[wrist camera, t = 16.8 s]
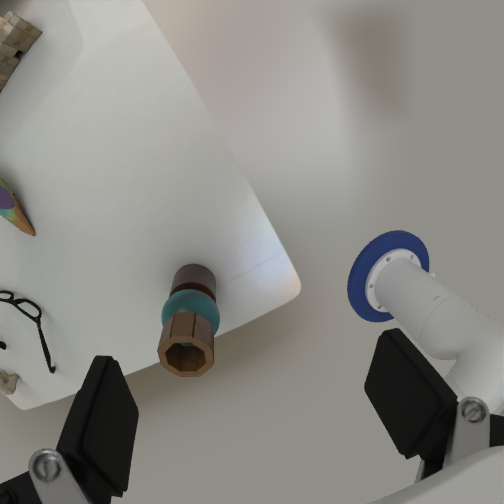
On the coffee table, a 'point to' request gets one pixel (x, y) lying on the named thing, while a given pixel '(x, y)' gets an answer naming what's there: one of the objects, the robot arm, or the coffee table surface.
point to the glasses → (35, 319)
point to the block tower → (14, 42)
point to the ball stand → (193, 295)
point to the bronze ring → (187, 357)
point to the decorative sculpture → (13, 209)
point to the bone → (7, 383)
